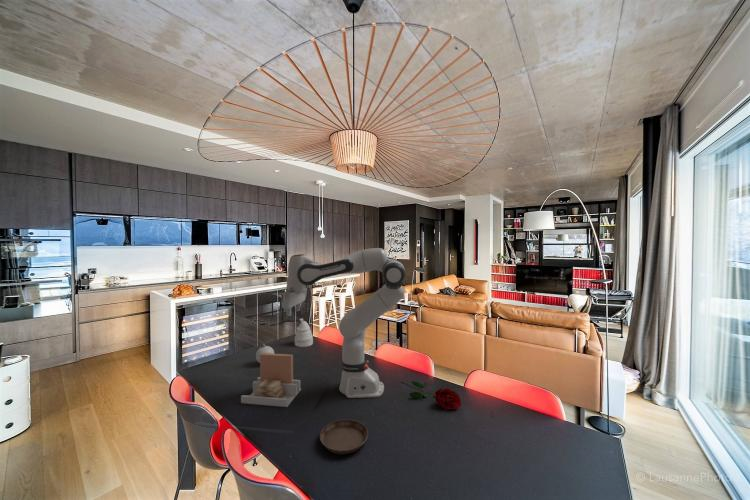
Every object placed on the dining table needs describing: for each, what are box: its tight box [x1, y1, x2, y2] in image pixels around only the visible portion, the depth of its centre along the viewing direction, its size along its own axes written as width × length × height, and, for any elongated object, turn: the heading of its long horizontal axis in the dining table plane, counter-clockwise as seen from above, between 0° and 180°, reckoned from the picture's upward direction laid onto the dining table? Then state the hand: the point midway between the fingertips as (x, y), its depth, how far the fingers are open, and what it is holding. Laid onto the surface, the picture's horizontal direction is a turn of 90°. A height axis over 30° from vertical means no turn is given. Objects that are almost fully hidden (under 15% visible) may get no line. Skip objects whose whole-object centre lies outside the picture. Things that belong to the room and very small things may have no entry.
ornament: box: [255, 343, 275, 364], centre depth 175 cm, size 10×10×12 cm
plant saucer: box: [319, 419, 369, 455], centre depth 106 cm, size 18×18×3 cm
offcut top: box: [258, 380, 281, 392], centre depth 133 cm, size 8×6×2 cm
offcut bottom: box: [255, 391, 285, 398], centre depth 133 cm, size 12×6×2 cm, turn 82°
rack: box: [240, 376, 302, 408], centre depth 136 cm, size 22×16×6 cm
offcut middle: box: [256, 386, 283, 398], centre depth 133 cm, size 10×6×2 cm, turn 82°
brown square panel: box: [259, 353, 294, 384], centre depth 139 cm, size 16×2×18 cm, turn 82°
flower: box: [400, 380, 462, 411], centre depth 133 cm, size 9×9×30 cm
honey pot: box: [294, 318, 314, 348], centre depth 209 cm, size 13×13×18 cm
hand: (293, 313), depth 144 cm, fingers open, 8 cm apart
